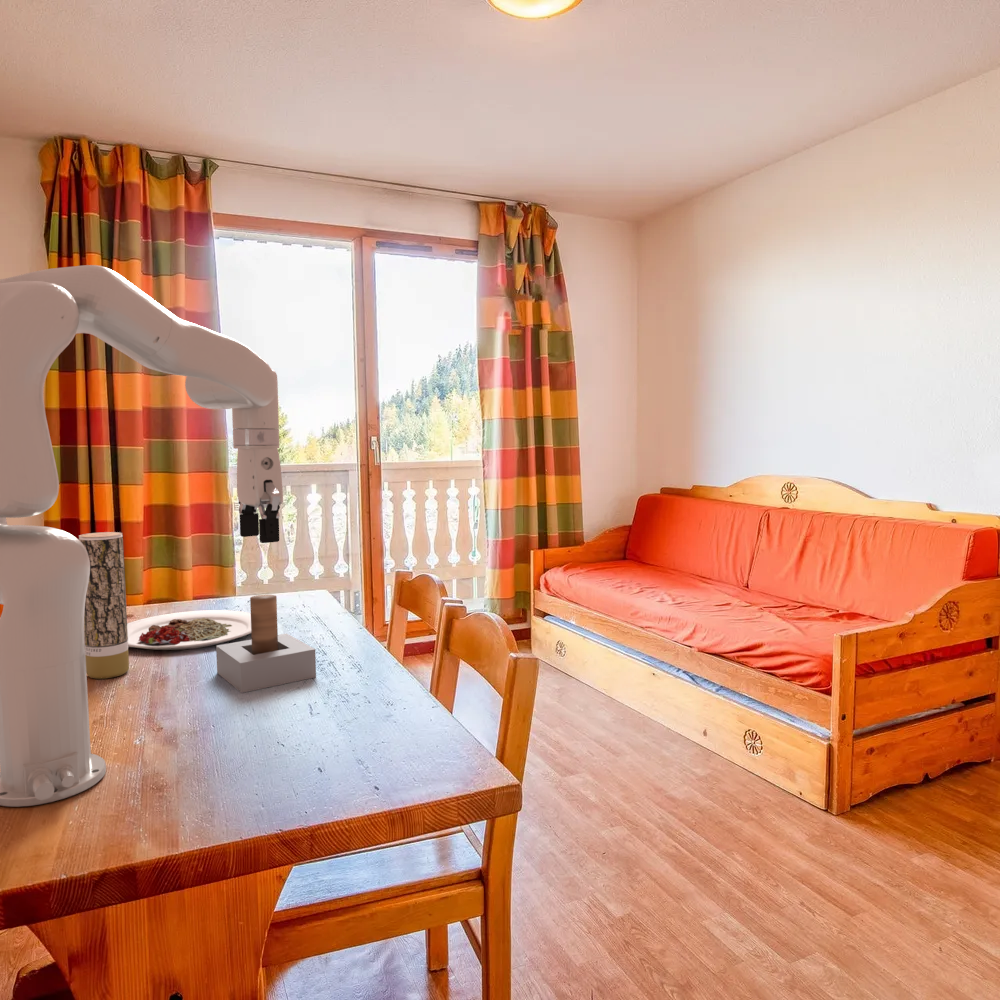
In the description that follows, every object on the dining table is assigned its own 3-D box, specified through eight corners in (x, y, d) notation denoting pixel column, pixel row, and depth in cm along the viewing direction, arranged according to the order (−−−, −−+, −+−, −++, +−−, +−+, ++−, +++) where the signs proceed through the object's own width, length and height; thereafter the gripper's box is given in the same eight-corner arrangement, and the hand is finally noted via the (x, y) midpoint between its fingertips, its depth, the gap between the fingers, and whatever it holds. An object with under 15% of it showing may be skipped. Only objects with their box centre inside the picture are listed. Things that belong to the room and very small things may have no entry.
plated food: (281, 618, 175) (281, 603, 175) (233, 656, 145) (232, 639, 145) (153, 617, 176) (153, 603, 175) (79, 656, 146) (78, 638, 146)
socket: (316, 677, 132) (315, 649, 131) (241, 692, 124) (240, 663, 123) (287, 659, 142) (286, 633, 142) (217, 673, 134) (216, 645, 134)
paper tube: (111, 681, 130) (104, 537, 128) (77, 678, 131) (69, 536, 129) (137, 669, 137) (131, 532, 134) (105, 667, 138) (97, 531, 136)
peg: (282, 675, 132) (280, 597, 131) (258, 681, 130) (255, 601, 129) (273, 669, 136) (271, 593, 135) (249, 674, 133) (246, 596, 132)
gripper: (297, 440, 124) (299, 542, 126) (260, 439, 138) (263, 532, 139) (251, 440, 120) (255, 546, 121) (218, 439, 133) (221, 535, 135)
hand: (259, 539), depth 130 cm, fingers open, 9 cm apart
